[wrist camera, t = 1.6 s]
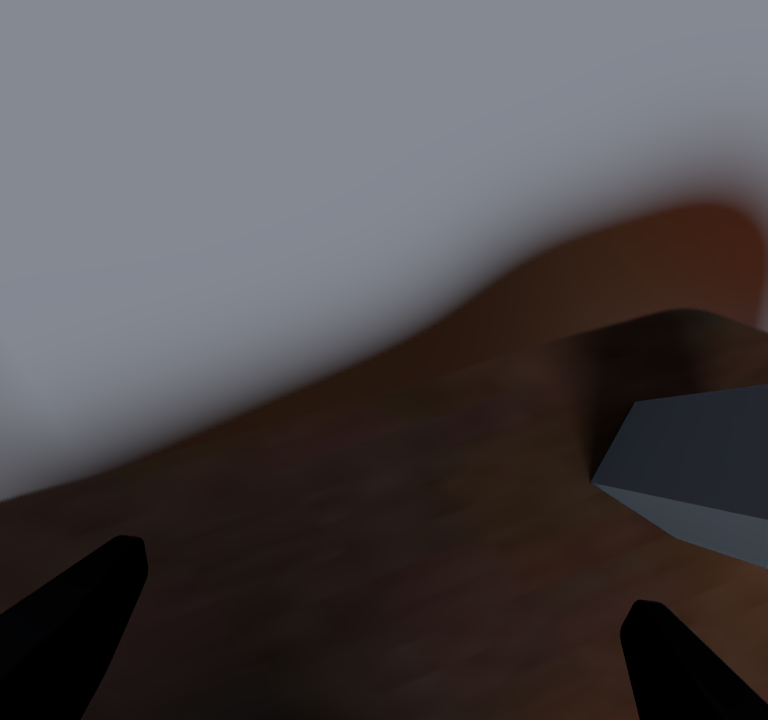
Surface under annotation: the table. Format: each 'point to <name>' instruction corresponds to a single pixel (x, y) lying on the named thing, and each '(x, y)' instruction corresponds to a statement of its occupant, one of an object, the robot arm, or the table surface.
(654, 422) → the grey hollow square tube
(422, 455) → the table surface
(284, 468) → the table surface
